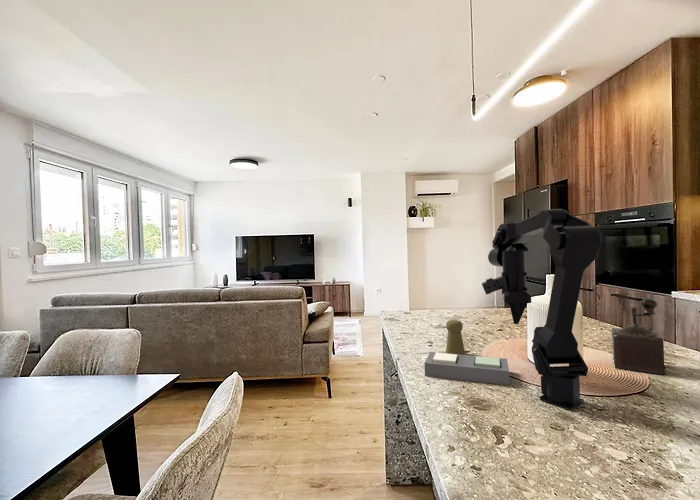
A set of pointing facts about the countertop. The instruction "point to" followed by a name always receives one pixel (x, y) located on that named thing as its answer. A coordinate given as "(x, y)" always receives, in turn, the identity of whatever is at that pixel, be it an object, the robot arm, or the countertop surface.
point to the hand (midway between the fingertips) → (516, 323)
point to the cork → (454, 338)
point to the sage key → (487, 362)
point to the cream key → (445, 358)
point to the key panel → (468, 370)
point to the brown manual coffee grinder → (639, 344)
